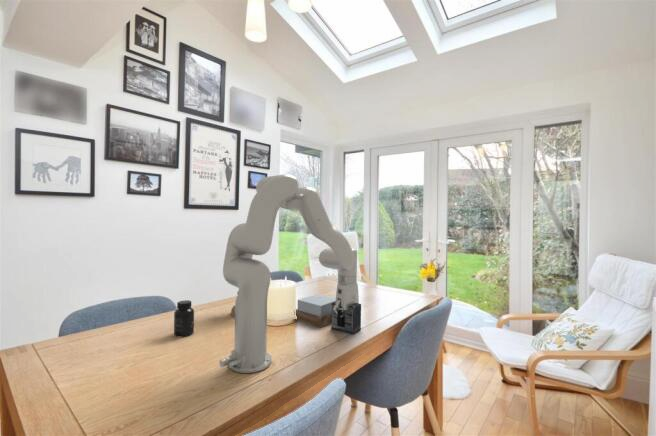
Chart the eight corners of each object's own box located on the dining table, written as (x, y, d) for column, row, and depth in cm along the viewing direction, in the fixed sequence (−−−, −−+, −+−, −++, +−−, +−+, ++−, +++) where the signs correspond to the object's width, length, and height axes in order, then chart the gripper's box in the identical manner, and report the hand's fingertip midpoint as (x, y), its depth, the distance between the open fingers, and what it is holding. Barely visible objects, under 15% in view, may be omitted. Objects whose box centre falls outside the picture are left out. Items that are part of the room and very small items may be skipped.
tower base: (321, 328, 125) (321, 317, 125) (294, 320, 134) (294, 310, 134) (342, 319, 137) (343, 309, 137) (316, 312, 146) (317, 302, 146)
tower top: (320, 316, 126) (320, 305, 126) (297, 310, 134) (297, 299, 134) (339, 309, 136) (339, 299, 136) (317, 303, 144) (317, 293, 144)
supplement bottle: (197, 333, 117) (197, 302, 116) (178, 339, 112) (178, 305, 111) (189, 328, 121) (189, 298, 121) (170, 333, 116) (171, 301, 116)
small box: (361, 329, 124) (362, 303, 124) (354, 334, 118) (354, 307, 118) (338, 323, 130) (339, 298, 129) (330, 328, 124) (331, 302, 124)
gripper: (341, 284, 114) (341, 332, 115) (366, 277, 128) (365, 320, 128) (326, 281, 119) (325, 327, 120) (351, 274, 133) (350, 316, 133)
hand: (346, 323), depth 124 cm, fingers closed on small box, 6 cm apart
